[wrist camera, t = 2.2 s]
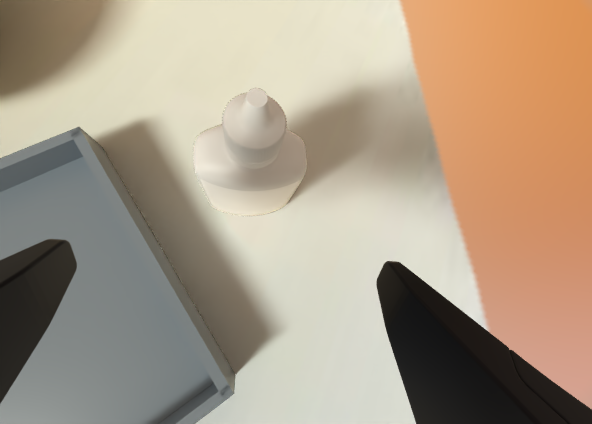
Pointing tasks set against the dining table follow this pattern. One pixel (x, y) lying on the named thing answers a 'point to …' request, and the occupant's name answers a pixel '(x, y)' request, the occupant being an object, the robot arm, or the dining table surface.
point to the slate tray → (104, 301)
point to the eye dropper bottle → (250, 157)
